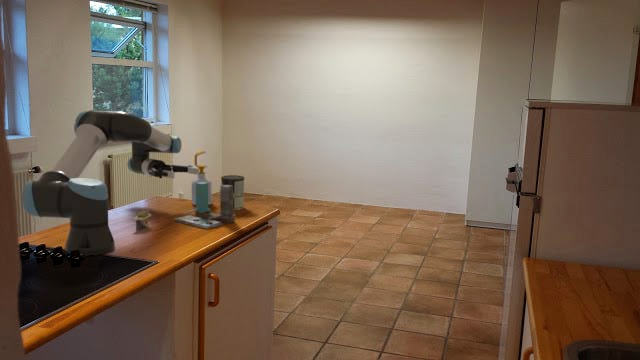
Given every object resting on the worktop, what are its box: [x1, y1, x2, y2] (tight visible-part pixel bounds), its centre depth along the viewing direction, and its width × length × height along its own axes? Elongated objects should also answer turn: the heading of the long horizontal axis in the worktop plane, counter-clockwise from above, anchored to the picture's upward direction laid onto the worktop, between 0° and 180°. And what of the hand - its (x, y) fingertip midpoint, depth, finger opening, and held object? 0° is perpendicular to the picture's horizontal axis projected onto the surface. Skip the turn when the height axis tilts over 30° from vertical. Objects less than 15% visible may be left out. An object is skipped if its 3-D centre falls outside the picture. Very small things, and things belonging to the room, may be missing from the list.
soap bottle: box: [191, 150, 213, 206], centre depth 260 cm, size 9×9×25 cm
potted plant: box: [132, 209, 152, 231], centre depth 217 cm, size 12×18×7 cm, turn 173°
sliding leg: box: [182, 182, 212, 214], centre depth 234 cm, size 12×5×12 cm, turn 144°
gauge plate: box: [174, 214, 223, 230], centre depth 226 cm, size 8×19×1 cm, turn 54°
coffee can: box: [220, 174, 245, 211], centre depth 255 cm, size 10×10×14 cm
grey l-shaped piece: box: [194, 185, 237, 225], centre depth 229 cm, size 12×19×15 cm, turn 54°
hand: (186, 173), depth 241 cm, fingers open, 13 cm apart
